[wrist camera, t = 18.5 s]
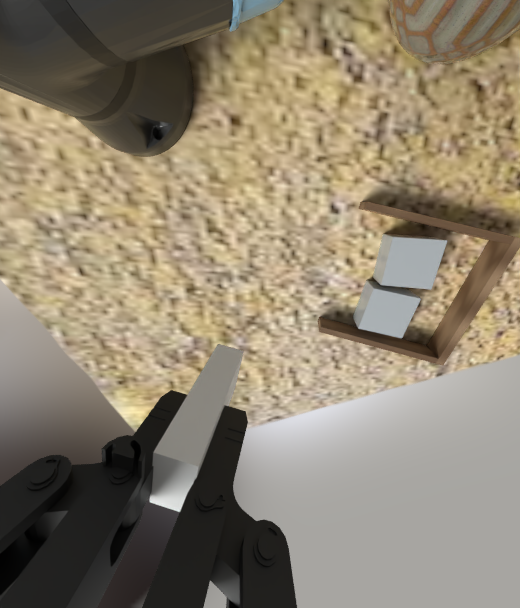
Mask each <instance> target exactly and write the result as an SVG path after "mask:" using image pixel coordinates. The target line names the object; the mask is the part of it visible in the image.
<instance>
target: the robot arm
mask: <svg viewBox="0 0 520 608" xmlns="http://www.w3.org/2000/svg"><path fill="white" fill-rule="evenodd" d="M283 1H284V0H0V88H1V89H4V90H6V91H9V92H11V93H14V94H16V95H19V96H22V97H24V98H27V99H29V100H32V101H34V102H37V103H40V104H42V105H45V106H47V107H50V108H52V109H55V110H57V111H60V112H63V113H65V114H68V115H70V116H73V117H75V118H76V119H77V120H78V121H80V122H81V123H82V124H83V125H84V126H85V127H87V128H88V129H89V130H90V131H91V132H92V133H93V134H95V135H96V136H97V137H98V138H99V139H100V140H102V141H103V142H104V143H106V144H107V145H109V146H111V147H113V148H114V149H116V150H119V151H121V152H124V153H128V154H131V155H134V156H140V157H149V156H155V155H158V154H161V153H163V152H165V151H166V150H168V149H169V148H170V147H172V146H173V145H174V144H175V143H176V142H177V141H178V139H179V138H180V137H181V135H182V133H183V132H184V130H185V128H186V126H187V123H188V121H189V117H190V114H191V109H192V103H193V79H192V72H191V67H190V63H189V60H188V57H187V54H186V51H185V49H184V46H183V44H186V43H189V42H192V41H195V40H198V39H201V38H203V37H206V36H209V35H212V34H215V33H218V32H221V31H224V30H227V29H230V32H231V31H235V30H236V29H237V28H238V26H239V24H240V23H242V22H245V21H247V20H249V19H252V18H254V17H256V16H259V15H261V14H263V13H266V12H268V11H270V10H272V9H275V8H276V7H278V6H279V5H280V4H281V3H282V2H283ZM243 352H244V351H242V350H238V349H235V348H231V347H227V346H224V345H220V344H218V345H217V347H216V348H215V350H214V352H213V353H212V355H211V357H210V358H209V360H208V362H207V363H206V365H205V367H204V368H203V370H202V372H201V373H200V375H199V377H198V378H197V380H196V382H195V383H194V385H193V387H192V388H191V390H190V392H189V393H188V395H186V394H183V393H179V392H176V391H172V390H171V391H170V392H168V393H167V394H165V395H164V396H162V397H161V398H160V399H159V401H158V402H157V404H156V405H155V406H154V409H152V410H151V412H150V413H149V415H148V417H146V419H145V420H144V421H143V423H142V424H141V426H140V427H139V428H138V430H137V431H136V432H135V434H134V435H133V436H128V435H126V436H122V437H118V438H116V439H114V440H112V441H110V442H108V443H107V444H106V445H105V446H104V447H103V448H102V462H101V463H96V464H83V465H71V462H70V461H69V460H68V458H66V457H64V456H61V455H51V456H47V457H44V458H41V459H39V460H37V461H35V462H33V463H32V464H30V465H28V466H27V467H26V468H24V469H23V470H22V471H20V472H19V473H18V474H16V475H15V476H13V477H12V478H11V479H9V480H8V481H6V482H5V483H4V484H2V485H1V486H0V608H97V606H98V604H99V602H100V600H101V598H102V596H103V594H104V592H105V591H106V589H107V586H108V585H109V583H110V581H111V579H112V577H113V575H114V573H115V571H116V568H117V567H118V565H119V563H120V561H121V559H122V557H123V555H124V553H125V551H126V549H127V547H128V545H129V543H130V541H131V539H132V537H133V535H134V533H135V531H136V529H137V527H138V525H139V523H140V520H141V517H142V512H143V508H144V506H145V504H146V502H147V500H148V498H149V496H150V502H151V503H154V504H157V505H160V506H163V507H166V508H170V509H172V510H176V511H179V512H180V513H179V516H178V518H177V521H176V523H175V526H174V528H173V531H172V533H171V536H170V539H169V541H168V543H167V546H166V549H165V551H164V554H163V556H162V559H161V561H160V564H159V566H158V569H157V571H156V574H155V576H154V579H153V581H152V584H151V586H150V589H149V592H148V594H147V597H146V599H145V602H144V604H143V607H142V608H203V606H204V602H205V598H206V594H207V589H208V586H209V582H210V580H211V581H212V582H213V583H214V584H215V585H216V586H217V587H218V588H219V589H220V590H221V592H223V594H225V595H226V596H227V604H226V605H227V606H226V608H297V605H296V598H295V591H294V584H293V577H292V569H291V562H290V555H289V548H288V545H287V541H286V538H285V536H284V534H283V533H282V531H281V529H280V528H279V527H278V526H277V525H275V524H274V523H273V522H271V521H267V520H260V521H255V520H254V519H253V518H252V517H250V516H249V515H248V514H247V513H246V512H244V511H243V510H242V509H241V507H240V506H239V505H238V503H237V501H236V499H235V496H234V492H233V481H234V477H235V473H236V469H237V464H238V460H239V456H240V452H241V448H242V444H243V440H244V436H245V431H246V427H247V423H248V421H247V416H246V411H242V410H239V409H236V408H232V407H229V403H230V401H231V398H232V395H233V392H234V389H235V386H236V382H237V377H238V373H239V369H240V365H241V360H242V356H243Z"/></svg>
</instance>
